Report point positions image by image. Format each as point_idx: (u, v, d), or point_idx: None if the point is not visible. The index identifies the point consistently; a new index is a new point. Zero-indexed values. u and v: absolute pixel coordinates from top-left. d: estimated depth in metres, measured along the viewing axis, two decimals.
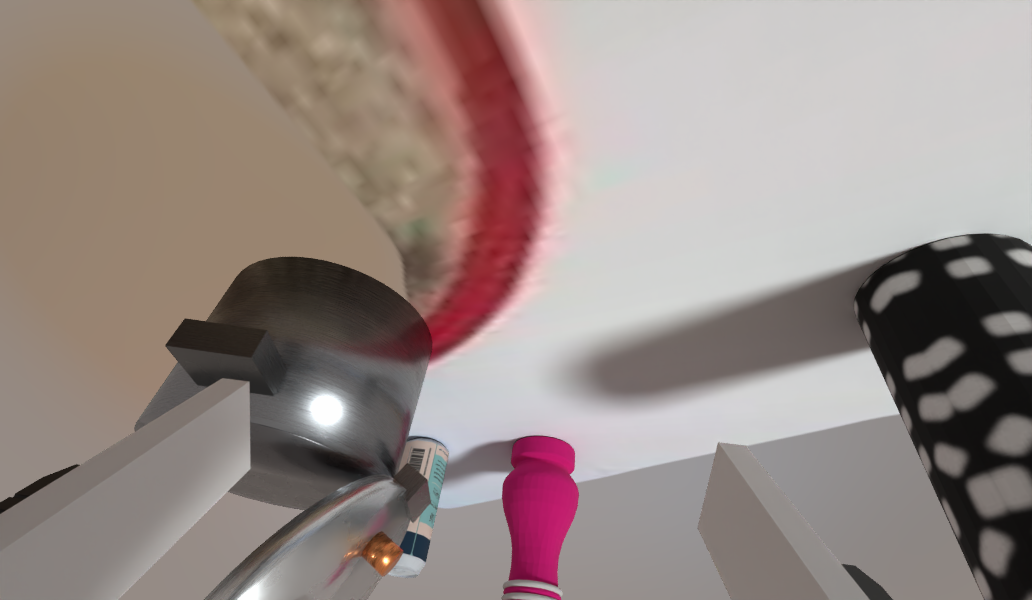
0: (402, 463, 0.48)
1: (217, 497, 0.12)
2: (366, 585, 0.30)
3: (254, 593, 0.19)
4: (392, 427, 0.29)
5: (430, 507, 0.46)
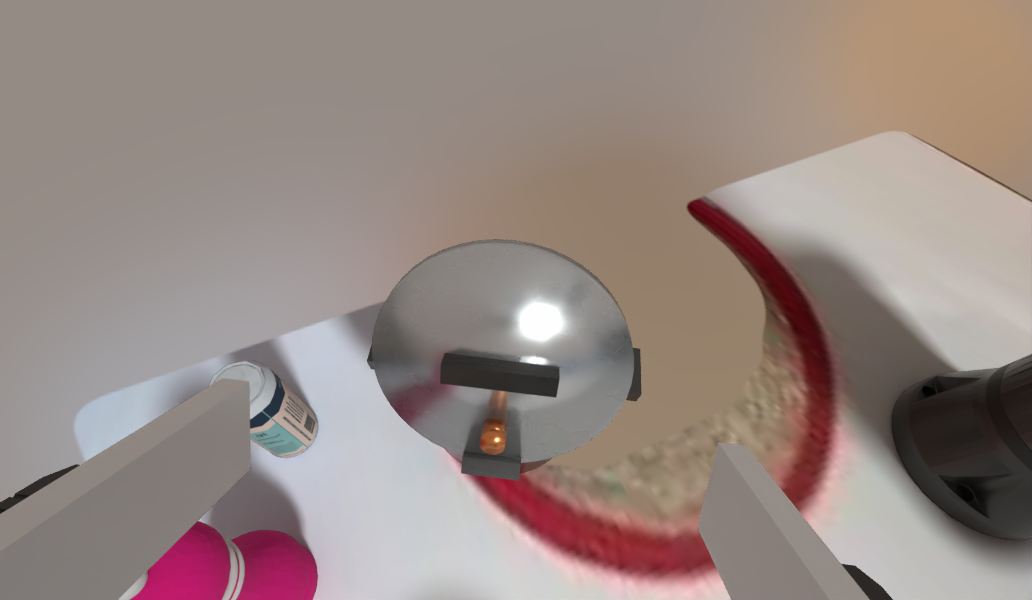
0: (305, 406, 0.43)
1: (217, 497, 0.12)
2: (420, 401, 0.31)
3: (623, 386, 0.30)
4: None
5: (273, 435, 0.38)
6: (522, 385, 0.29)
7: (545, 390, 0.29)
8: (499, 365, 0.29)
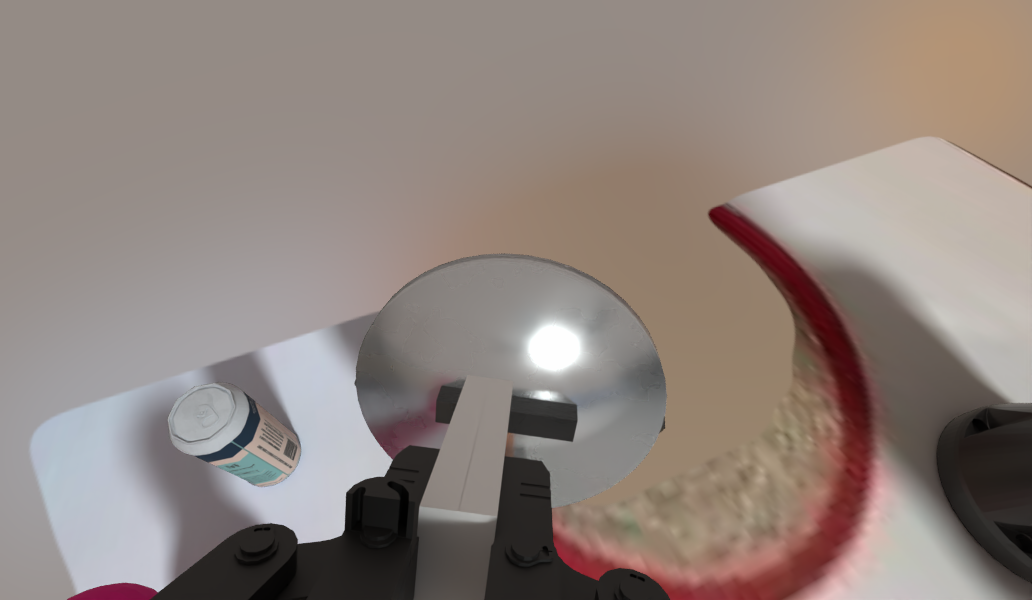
0: (287, 430, 0.39)
1: None
2: (411, 439, 0.27)
3: (652, 428, 0.25)
4: None
5: (247, 466, 0.34)
6: (533, 427, 0.24)
7: (560, 433, 0.24)
8: None
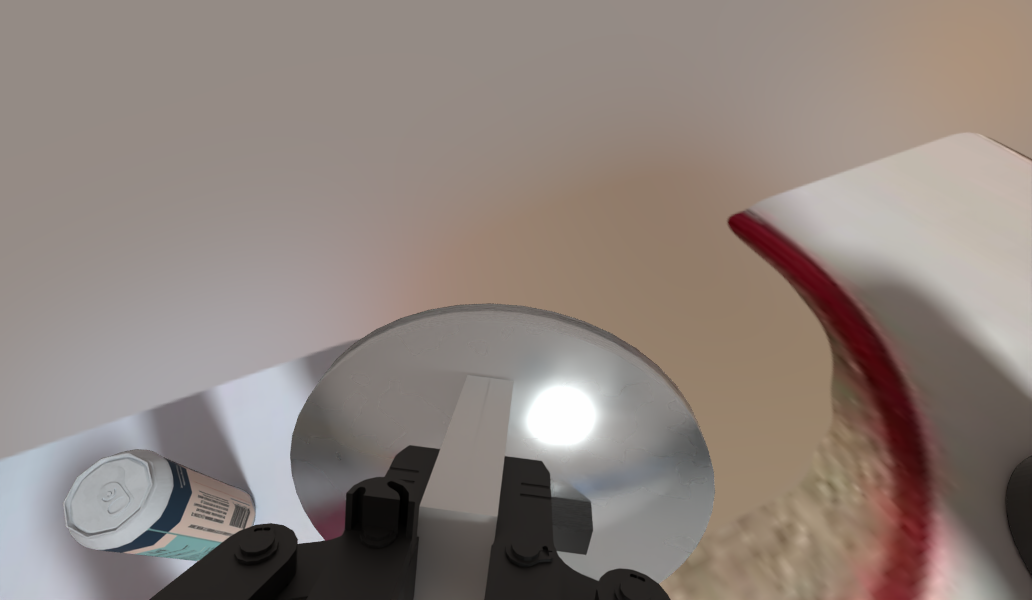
0: (236, 492, 0.32)
1: None
2: None
3: (693, 531, 0.18)
4: None
5: (177, 549, 0.27)
6: None
7: (569, 544, 0.18)
8: None
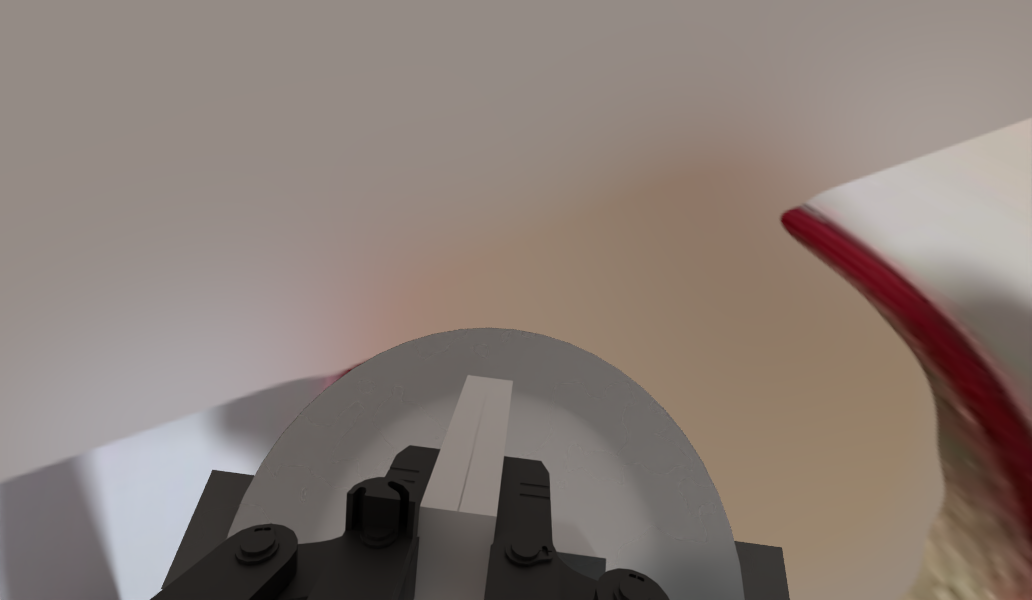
0: None
1: None
2: None
3: None
4: None
5: None
6: None
7: None
8: None
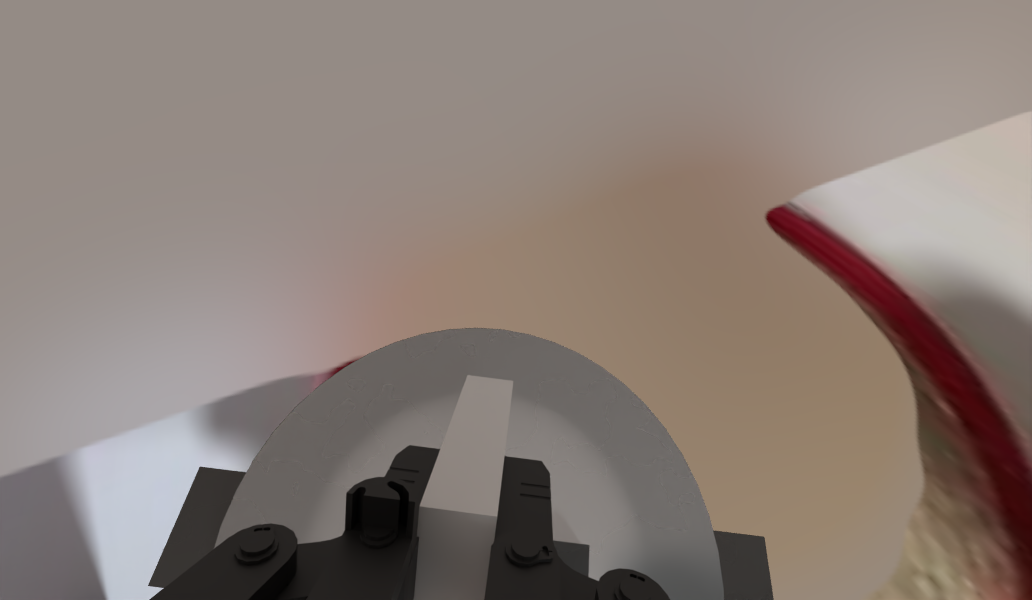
0: None
1: None
2: None
3: (711, 593, 0.15)
4: None
5: None
6: None
7: None
8: None
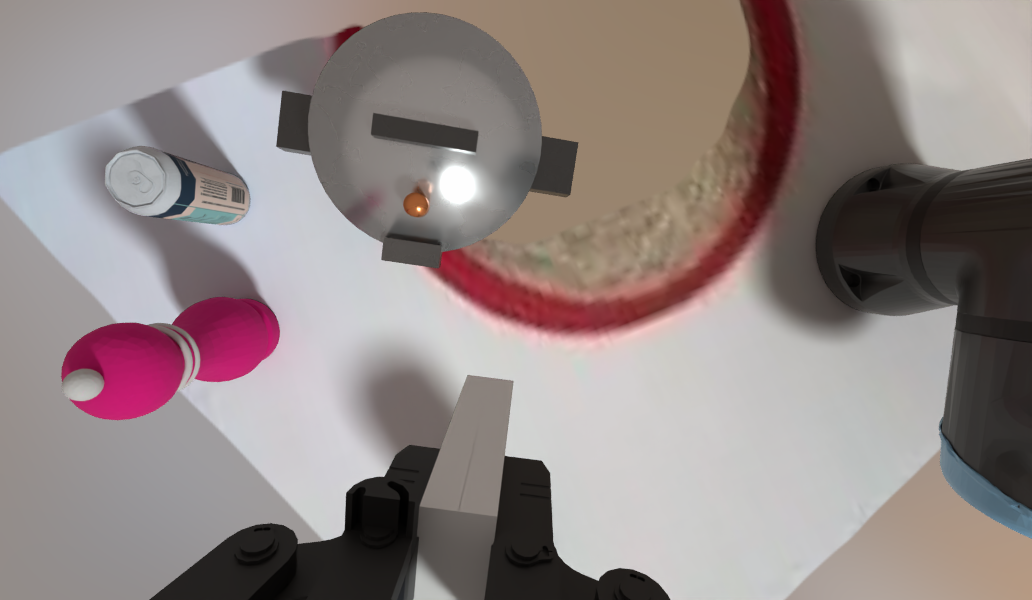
0: (229, 177, 0.42)
1: None
2: (348, 173, 0.33)
3: (534, 157, 0.34)
4: None
5: (199, 216, 0.38)
6: (445, 137, 0.32)
7: (466, 144, 0.33)
8: None
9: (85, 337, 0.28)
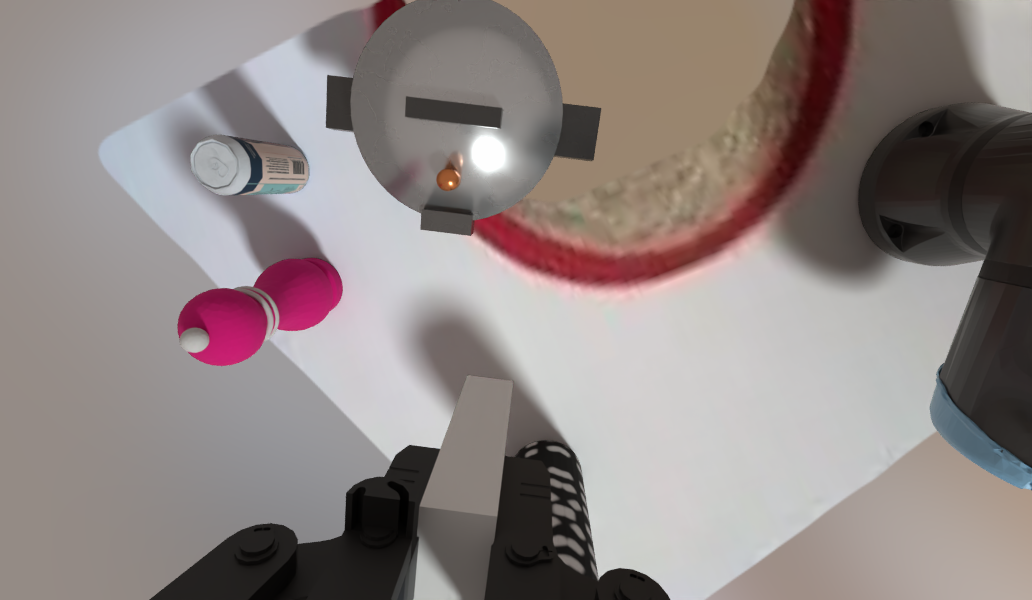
0: (289, 152, 0.47)
1: None
2: (387, 152, 0.37)
3: (556, 128, 0.36)
4: None
5: (268, 190, 0.44)
6: (472, 116, 0.35)
7: (490, 120, 0.35)
8: None
9: (191, 301, 0.36)
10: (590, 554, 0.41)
